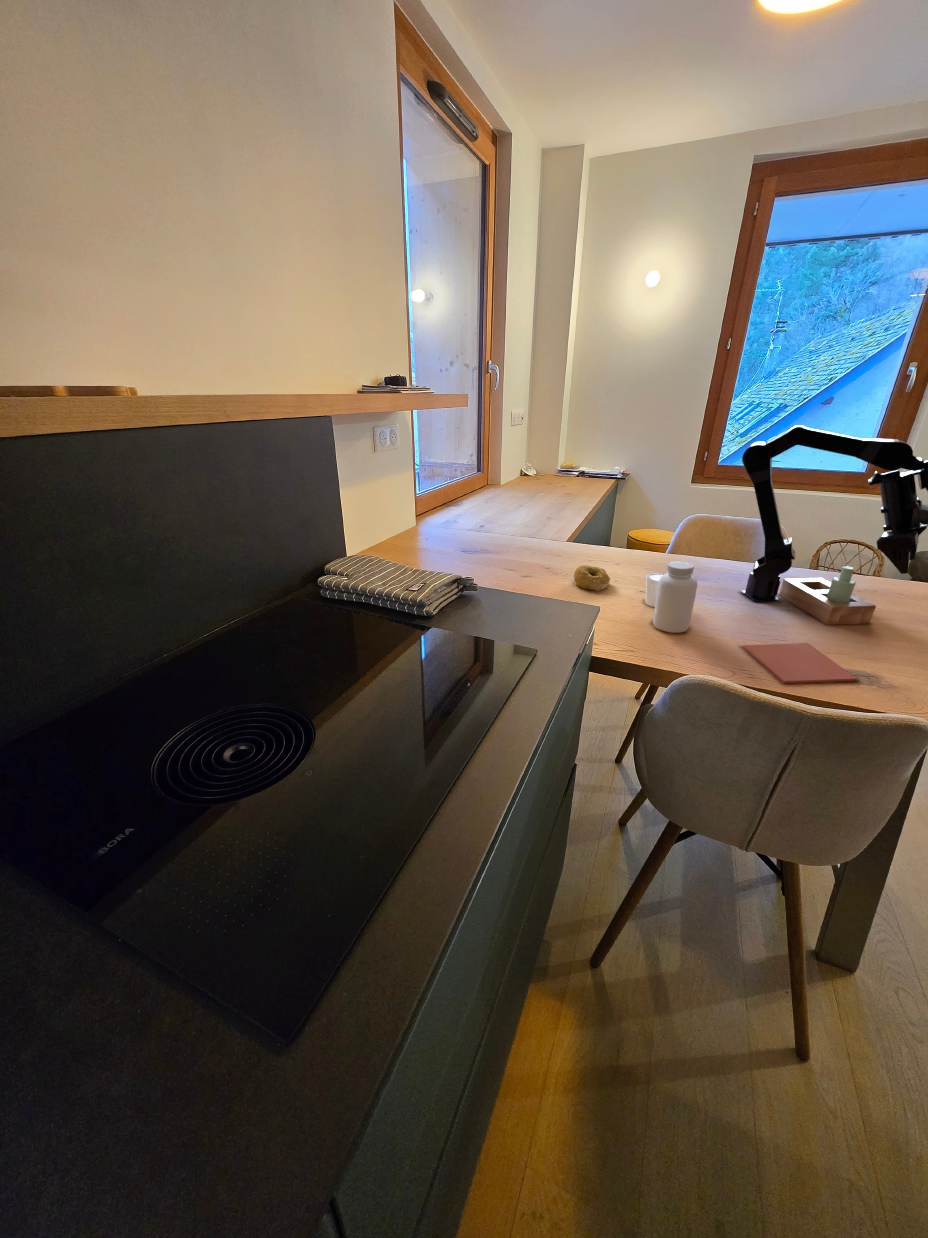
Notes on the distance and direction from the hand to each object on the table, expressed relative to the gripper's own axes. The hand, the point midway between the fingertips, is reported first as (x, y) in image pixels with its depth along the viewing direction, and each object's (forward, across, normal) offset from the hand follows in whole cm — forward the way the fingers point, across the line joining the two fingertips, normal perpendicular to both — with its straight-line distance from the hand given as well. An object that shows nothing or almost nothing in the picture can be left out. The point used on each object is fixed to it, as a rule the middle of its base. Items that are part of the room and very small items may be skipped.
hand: (908, 566), depth 110 cm
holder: (+7, -5, +16) cm, 18 cm away
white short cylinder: (-6, -30, +44) cm, 53 cm away
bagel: (-13, -30, +62) cm, 70 cm away
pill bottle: (-4, -40, +36) cm, 54 cm away
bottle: (+8, -7, +14) cm, 17 cm away
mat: (+5, -38, +12) cm, 41 cm away
